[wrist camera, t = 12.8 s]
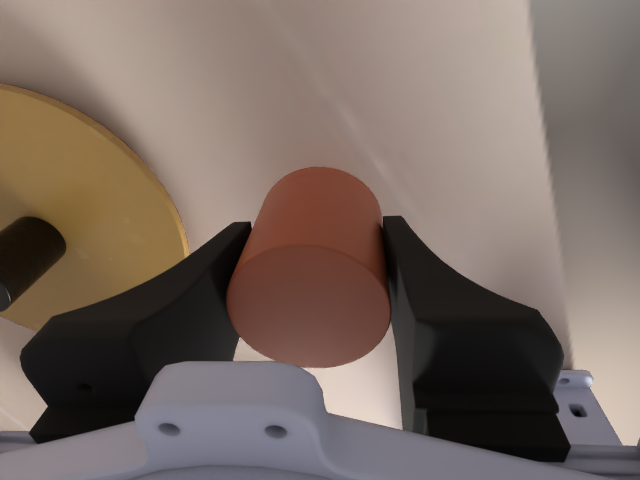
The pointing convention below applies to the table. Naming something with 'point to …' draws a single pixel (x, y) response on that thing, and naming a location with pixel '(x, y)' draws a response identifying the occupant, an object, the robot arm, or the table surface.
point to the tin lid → (74, 212)
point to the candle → (313, 272)
